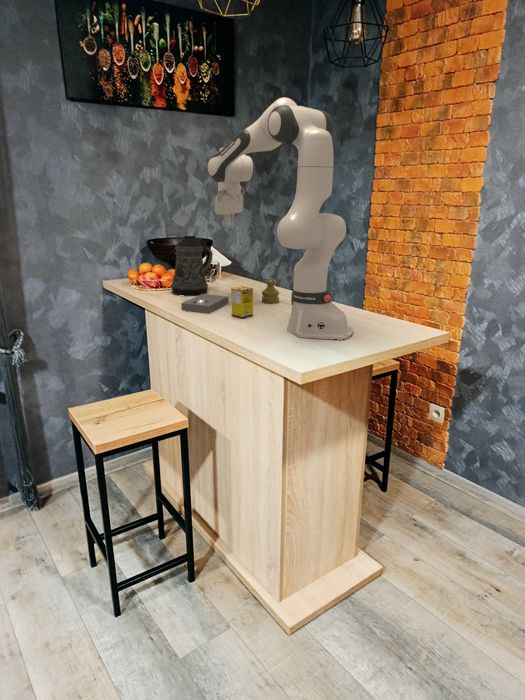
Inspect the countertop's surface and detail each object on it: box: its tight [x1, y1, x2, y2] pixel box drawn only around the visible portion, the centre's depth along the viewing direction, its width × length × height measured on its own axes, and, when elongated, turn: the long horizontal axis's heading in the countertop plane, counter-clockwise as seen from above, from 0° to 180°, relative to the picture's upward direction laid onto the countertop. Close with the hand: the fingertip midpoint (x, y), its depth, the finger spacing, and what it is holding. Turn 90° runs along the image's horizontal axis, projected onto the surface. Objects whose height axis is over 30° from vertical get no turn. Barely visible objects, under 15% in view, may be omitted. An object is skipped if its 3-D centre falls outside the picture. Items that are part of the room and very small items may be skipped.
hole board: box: [180, 293, 229, 314], centre depth 198 cm, size 12×18×3 cm, turn 159°
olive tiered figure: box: [261, 277, 280, 305], centre depth 207 cm, size 7×7×10 cm
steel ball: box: [196, 299, 206, 304], centre depth 195 cm, size 4×4×4 cm
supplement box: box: [230, 285, 254, 320], centre depth 184 cm, size 6×6×11 cm
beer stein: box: [170, 235, 213, 297], centre depth 221 cm, size 16×19×25 cm
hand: (229, 225), depth 203 cm, fingers closed
